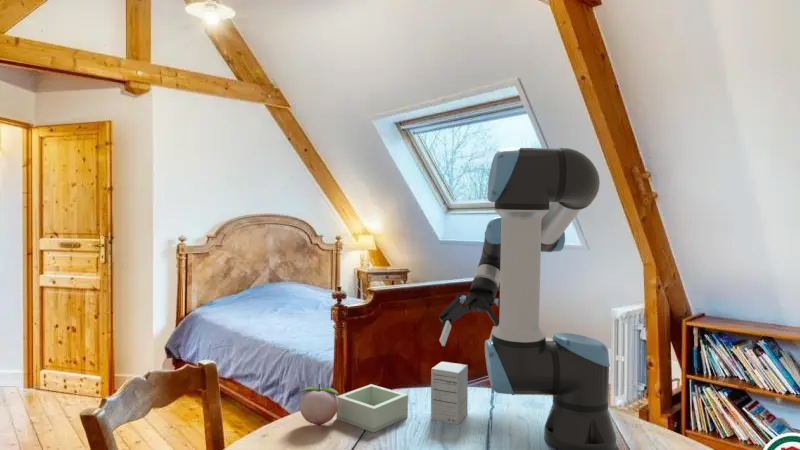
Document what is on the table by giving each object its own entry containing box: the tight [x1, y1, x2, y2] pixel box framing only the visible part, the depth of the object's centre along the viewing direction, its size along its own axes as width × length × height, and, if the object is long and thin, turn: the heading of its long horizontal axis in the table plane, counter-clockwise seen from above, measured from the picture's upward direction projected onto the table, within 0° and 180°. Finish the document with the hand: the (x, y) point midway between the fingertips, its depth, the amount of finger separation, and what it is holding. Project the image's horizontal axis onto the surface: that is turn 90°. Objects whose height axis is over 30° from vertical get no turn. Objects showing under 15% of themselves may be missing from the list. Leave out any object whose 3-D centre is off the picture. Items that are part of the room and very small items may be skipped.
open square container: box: [336, 383, 409, 433], centre depth 127 cm, size 12×12×6 cm
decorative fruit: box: [299, 383, 340, 427], centre depth 121 cm, size 9×8×10 cm
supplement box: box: [430, 361, 469, 425], centre depth 128 cm, size 7×7×13 cm
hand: (465, 346), depth 137 cm, fingers open, 13 cm apart
